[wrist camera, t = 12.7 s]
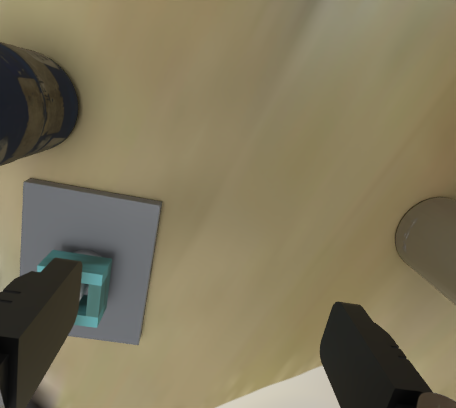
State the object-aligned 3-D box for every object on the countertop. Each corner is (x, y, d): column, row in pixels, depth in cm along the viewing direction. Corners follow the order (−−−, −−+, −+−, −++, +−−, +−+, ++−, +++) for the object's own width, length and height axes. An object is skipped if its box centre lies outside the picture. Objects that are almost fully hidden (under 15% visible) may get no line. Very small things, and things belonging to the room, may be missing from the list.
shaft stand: (162, 201, 39) (149, 232, 30) (140, 336, 44) (124, 395, 35) (30, 178, 37) (-22, 203, 29) (23, 321, 42) (-23, 378, 34)
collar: (112, 258, 37) (102, 274, 34) (106, 307, 39) (97, 327, 35) (52, 249, 36) (37, 265, 33) (49, 299, 38) (34, 319, 35)
